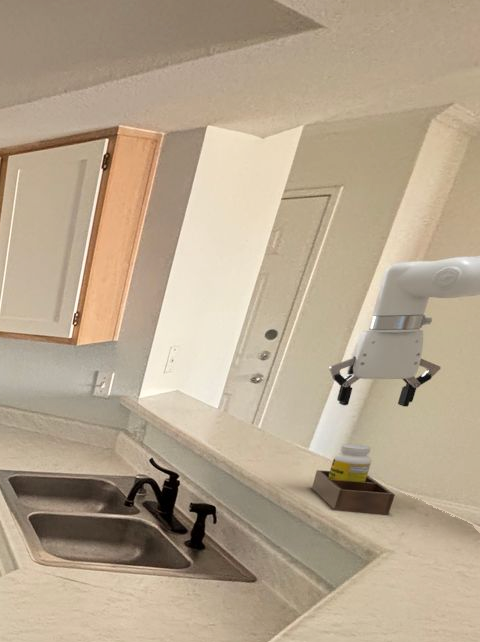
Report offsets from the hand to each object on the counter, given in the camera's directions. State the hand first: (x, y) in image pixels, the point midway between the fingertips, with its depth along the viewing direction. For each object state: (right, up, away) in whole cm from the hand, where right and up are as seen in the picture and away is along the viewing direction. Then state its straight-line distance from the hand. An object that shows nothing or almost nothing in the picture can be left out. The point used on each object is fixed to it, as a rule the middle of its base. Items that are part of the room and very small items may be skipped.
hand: (372, 404), depth 129 cm
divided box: (-1, -21, +4) cm, 22 cm away
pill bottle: (+1, -19, +7) cm, 21 cm away
